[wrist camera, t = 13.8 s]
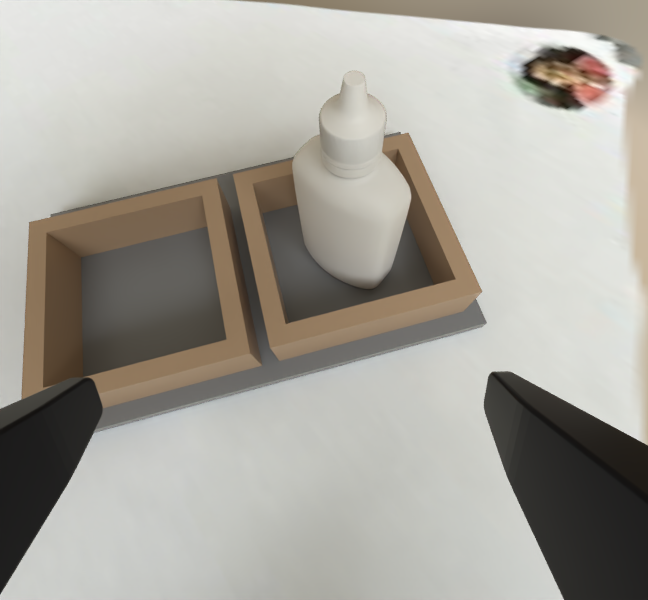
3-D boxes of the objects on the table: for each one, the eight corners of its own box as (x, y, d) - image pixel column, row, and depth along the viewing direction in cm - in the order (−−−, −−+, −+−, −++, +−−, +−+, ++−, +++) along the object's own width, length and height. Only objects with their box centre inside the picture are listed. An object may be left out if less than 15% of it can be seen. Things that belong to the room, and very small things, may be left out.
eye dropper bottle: (360, 209, 24) (378, 8, 13) (398, 281, 22) (459, 116, 11) (298, 232, 24) (261, 44, 12) (332, 307, 22) (324, 164, 11)
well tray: (398, 140, 27) (407, 95, 24) (481, 327, 22) (509, 304, 18) (59, 221, 26) (14, 185, 22) (57, 442, 20) (-3, 442, 17)
